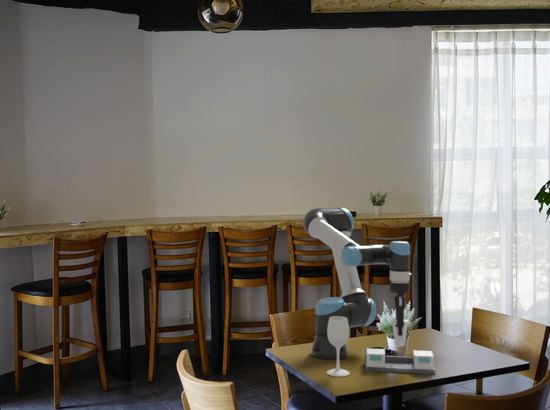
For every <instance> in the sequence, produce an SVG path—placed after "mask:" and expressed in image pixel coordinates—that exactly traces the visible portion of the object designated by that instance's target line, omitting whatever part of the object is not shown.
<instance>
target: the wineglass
mask: <svg viewBox="0 0 550 410" xmlns="http://www.w3.org/2000/svg"><path fill="white" fill-rule="evenodd" d="M327 336H328V340H329V342H330V343H331V344H332V345H333V346H334V347H336V350H337V359H336V363H335V364H336V365H335V368H332V369H329V370H327V371H326V374H327V375H328V376H331V377H341V378H342V377H348V376H349V375H350V371H348V370H347V369H343V368H341V364H340V359H339V352H340V348H341V347H342V346H344V345H345V344H346V345H347V343H348V341H349V338H350V328H349V325H348V320H347V318H346V317H342V316H333V317H330V318H329V322H328V328H327Z"/></svg>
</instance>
